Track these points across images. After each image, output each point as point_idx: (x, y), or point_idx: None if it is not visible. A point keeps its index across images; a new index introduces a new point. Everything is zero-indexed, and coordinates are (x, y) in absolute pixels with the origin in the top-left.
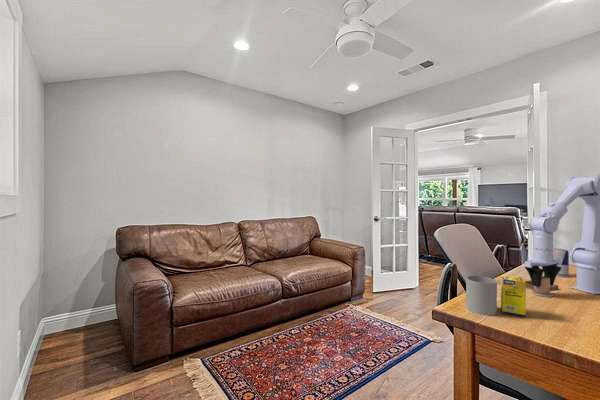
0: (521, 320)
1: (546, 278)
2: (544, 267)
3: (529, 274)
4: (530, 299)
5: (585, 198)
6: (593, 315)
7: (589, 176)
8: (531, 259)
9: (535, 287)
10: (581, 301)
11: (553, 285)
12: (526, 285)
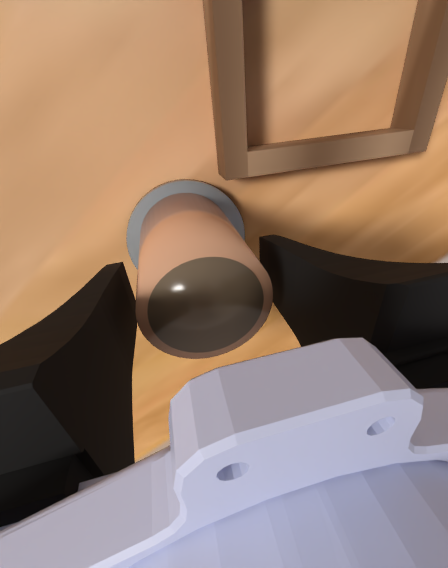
0: None
1: (202, 352)
2: (358, 315)
3: (43, 325)
4: (23, 314)
5: None
6: (169, 437)
7: None
8: (174, 481)
9: (139, 249)
10: (283, 332)
11: (398, 143)
12: (212, 44)
